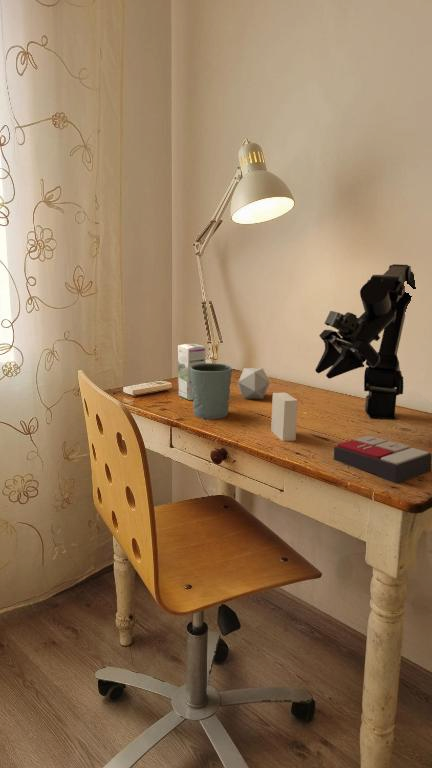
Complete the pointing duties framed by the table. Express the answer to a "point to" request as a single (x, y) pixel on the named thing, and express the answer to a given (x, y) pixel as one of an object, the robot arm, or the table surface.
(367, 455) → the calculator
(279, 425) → the white box grey panel
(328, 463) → the table surface
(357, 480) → the table surface
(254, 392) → the die
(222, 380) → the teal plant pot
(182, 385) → the syrup box
